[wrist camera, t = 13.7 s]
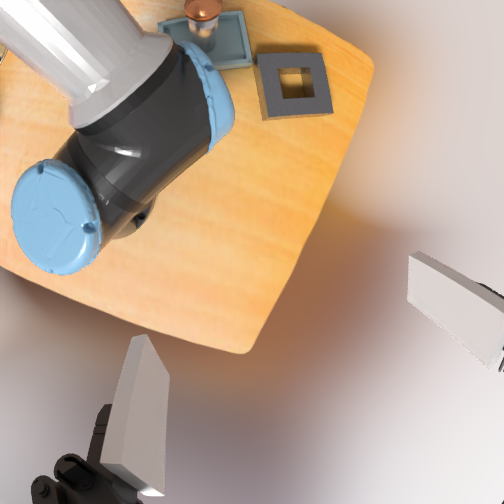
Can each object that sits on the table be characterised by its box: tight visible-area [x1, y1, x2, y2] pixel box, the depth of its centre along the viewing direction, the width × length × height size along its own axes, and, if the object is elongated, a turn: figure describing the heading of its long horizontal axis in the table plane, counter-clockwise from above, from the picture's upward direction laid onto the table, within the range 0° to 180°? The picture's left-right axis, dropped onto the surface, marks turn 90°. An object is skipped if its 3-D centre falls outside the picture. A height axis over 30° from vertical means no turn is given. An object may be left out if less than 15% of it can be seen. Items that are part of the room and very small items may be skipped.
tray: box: [158, 11, 253, 71], centre depth 34 cm, size 14×11×2 cm
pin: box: [185, 0, 222, 53], centre depth 28 cm, size 5×5×13 cm
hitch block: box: [252, 53, 333, 121], centre depth 38 cm, size 11×11×4 cm
